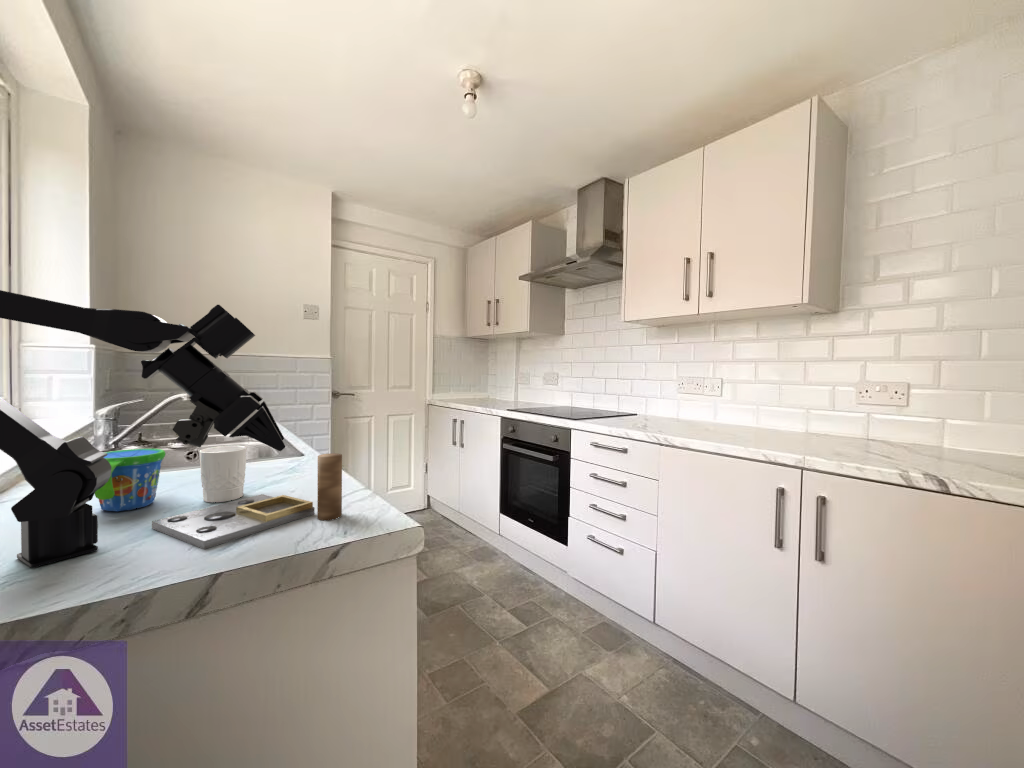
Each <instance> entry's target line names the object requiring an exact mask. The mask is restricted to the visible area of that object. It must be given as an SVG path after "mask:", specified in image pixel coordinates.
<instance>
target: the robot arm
mask: <svg viewBox="0 0 1024 768" xmlns="http://www.w3.org/2000/svg"><path fill="white" fill-rule="evenodd" d="M0 319H2V320H3V319H4V320H8V321H9V320H10V321H13V322H14V321H15V322H21V323H24V324H30V325H36V326H41V327H47V328H52V329H57V330H63V331H66V332H67V331H68V332H72V333H78V334H82V335H84V336H87V337H90V338H94V339H97V340H99V341H102V342H105V343H108V344H110V345H114V346H117V347H121V348H123V349H126V350H130V351H132V352H133V351H134V352H140V353H148V354H152V353H153V354H154V353H159V352H161V351H163V350H164V351H163V352H161V353H160V354H159V355H157V357H154V359H152V360H148V359H147V360H146V359H142V360H140V363H141V364H140V365H141V367H142V371H141V378H142V379H154V377H155V376H156V375H158V374H159V373H160V374H162V375H163V376H164V377H165V378H166V379H168V380H169V381H171V382H172V383H173V384H174V385H176V387H178V388H180V389H181V390H182V391H183V392H185V394H187V395H188V396H189V399H190V400H189V402H190V403H191V404H193V405H194V406H195V408H194V410H193V411H192V413H191V414H190V415H189V418H186V419H179V420H177V421H176V422H175V424H174V427H173V428H172V431H173V432H174V433H175V434H176V435H177V438H176V440H177V442H181V443H182V445H190V446H194V447H196V448H202V446H203V445H204V444H205V443H206V442H207V441H206V440H207V439H208V437H209V432H210V431H211V429H212V427H213V429H214V430H215V431H217V432H218V433H219V434H221V435H222V436H223V437H226V436H228V437H229V438H235V437H249V438H251V439H253V440H255V441H258V442H259V443H262V444H264V445H266V446H268V447H270V448H272V449H275V450H276V451H277V452H282V451H283V450H284V449H285V448H286V444H285V443H284V439H285V437H284V435H283V433H282V431H281V430H280V428H279V426H278V424H277V422H276V420H275V419H274V416H273V414H272V412H271V410H270V408H269V407H268V405H267V402H266V401H265V400H263V397H262V396H261V395H259V394H258V393H257V392H256V391H249V390H248V389H247V388H244V387H243V386H241V385H240V384H239V383H238V382H237V381H236V380H235V379H233V378H232V377H231V375H230V374H228V372H226V371H225V370H223V369H222V368H220V367H219V366H218V365H216V364H215V363H214V362H213V361H212V360H210V359H209V358H208V357H207V356H205V355H204V354H203V353H202V352H201V351H200V350H199V349H198V348H196V347H195V345H198V347H200V348H201V349H202V350H203V351H204V352H206V354H208V355H210V356H211V357H212V358H214V359H218V358H219V357H224V358H226V359H229V358H230V357H231V356H232V355H234V354H235V353H237V352H238V350H240V349H242V347H244V346H245V345H246V344H247V343H248V342H250V341H251V340H252V339H253V338H254V337H256V334H255V333H254V332H253V331H251V329H249V328H248V327H247V326H246V325H245V324H244V323H243V322H242V321H241V320H239V319H238V318H237V317H234V316H233V315H232V314H231V313H230V312H229V311H227V310H226V309H225V308H224V307H223V306H222V305H220V304H216V305H215V306H214V307H212V308H211V309H210V310H208V313H207V314H205V315H204V316H203V317H201V318H200V319H199V320H197V321H196V322H195V323H193V324H192V325H191V326H190V327H189V326H187V325H184V324H182V323H179V324H175V323H174V324H173V323H169V322H167V321H166V320H164V319H163V318H161V317H159V316H156V315H154V314H151V313H149V312H145V311H140V310H130V309H129V310H127V309H116V308H115V309H114V308H94V307H93V308H92V307H82V306H77V305H75V304H74V305H73V304H68V303H64V302H58V301H54V300H48V299H45V298H39V297H34V296H29V295H26V294H19V293H15V292H10V291H6V290H2V289H0ZM181 343H184V344H183V345H181V346H180V347H179V348H177V349H176V350H174V349H173V348H171V347H169V346H170V345H173V344H181ZM166 348H167V349H166ZM260 402H261V403H260ZM232 431H233V432H232ZM231 432H232V433H231ZM0 451H1V452H3V453H4V454H6V455H8V456H9V457H10V458H11V459H13V460H14V461H15V463H16V465H17V467H18V468H19V470H20V473H21V474H22V476H23V478H24V480H25V481H26V482H27V483H28V484H29V485H30V487H32V488H33V490H31V491H30V492H29V493H28V494H26V495H25V496H24V497H23V498H22V499H20V500H19V501H18V502H16V503H15V504H13V505H12V506H11V508H10V510H11V512H12V515H14V517H15V519H16V521H17V522H18V523H20V545H21V549H20V550H21V552H19V553H17V554H16V558H17V559H18V560H20V561H21V562H22V563H24V564H25V565H27V566H28V567H29V568H38V567H41V566H44V565H48V564H52V563H55V562H56V563H57V562H61V561H63V560H66V559H71V558H75V557H78V556H82V555H86V554H89V553H93V552H97V551H98V550H99V546H97V545H96V544H97V543H98V540H99V539H98V537H99V536H98V532H99V531H98V530H99V529H98V525H99V524H98V515H97V514H94V513H93V505H91V504H88V502H90V501H92V500H93V498H94V497H95V492H96V491H97V490H98V489H100V488H101V487H103V486H104V485H105V484H106V483H107V482H108V480H109V478H110V476H111V468H112V467H111V465H110V463H109V462H108V461H107V460H106V459H105V458H103V457H105V456H107V455H108V454H107V453H104V452H103V451H100V450H99V449H97V448H96V447H94V445H92V443H91V442H90V441H89V440H88V439H87V438H85V437H84V436H82V435H81V436H79V437H75V438H72V439H69V440H66V439H63V438H59V437H57V436H54V435H53V434H52V433H50V432H49V431H47V430H46V429H45V428H43V427H42V426H41V425H39V424H38V423H36V422H35V421H34V420H32V419H31V418H30V417H28V416H27V415H26V414H24V413H23V412H22V411H20V410H19V409H18V408H16V407H15V406H13V405H12V404H10V403H9V402H8V401H6V399H4V398H2V397H1V396H0Z"/></svg>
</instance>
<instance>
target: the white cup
mask: <svg viewBox="0 0 1024 768" xmlns="http://www.w3.org/2000/svg"><path fill="white" fill-rule="evenodd" d="M247 448H248V447H247V446H244V445H219V446H213V447H210V446H209V447H206V448H203V449H200V450H199V461H200V463H199V465H200V466H199V467H200V468H199V469H200V481H201V488H202V497H203V498H202V499H203V502H206V503H213V502H214V503H215V502H216V503H227V502H232V501H236V500H239V499H241V498H242V497H243V496H244V487H245V481H246V479H245V478H246V468H247V467H246V466H247V465H246V464H247ZM240 497H241V498H240ZM231 500H232V501H231ZM216 503H215V504H216Z"/></svg>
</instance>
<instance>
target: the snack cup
mask: <svg viewBox="0 0 1024 768" xmlns="http://www.w3.org/2000/svg"><path fill="white" fill-rule="evenodd" d="M104 453H107V454H108V455H107V456H105V457H103V458H105V459H106V460H107V461H108V462H109V463H110V465H111V467H112V468H111V476H110V478H109V480H108V482H107V483H106V484H105V485H104V486H103V487H101V488H100V489H98V490H97V491H96V492H95V494H94V497H95V498H97V500H98V502H99V506H100V508H101V511H106V512H122V511H123V512H124V511H130V510H136V508H137V509H140V508H145V507H147V506H149V505H151V504H152V503H154V501H155V499H156V497H157V490H158V484H159V480H160V474H161V467H162V465H161V464H162V462H163V460H164V458H165V457H166V451H165V450H164V449H162V448H161V449H160V448H134V449H122V450H121V449H120V450H111V451H105V452H104Z"/></svg>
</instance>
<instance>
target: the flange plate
mask: <svg viewBox="0 0 1024 768" xmlns="http://www.w3.org/2000/svg"><path fill="white" fill-rule="evenodd" d="M312 515H315V507H314V502H313V501H309V500H307V499H306V500H305V499H301V498H298V497H294V496H289V495H286V494H282V495H278V496H270V495H267V494H262V493H261V494H257V495H253V496H250V497H249V496H248V497H246V498H245V497H244V498H242V499H241V498H239V499H235V500H232V501H227V502H223V503H220V504H216V505H212V506H209V507H203V508H201V509H195V510H192V511H188V512H184V513H180V514H176V515H171V516H168V517H163V518H160V519H159V518H158V519H155V520H152V521H151V529H153V530H155V531H157V532H160V533H162V534H165V535H168V536H170V537H172V538H174V539H177V540H180V541H182V542H185V543H187V544H190V545H192V546H195V547H197V548H200V549H202V550H206V549H209V548H212V547H216V546H219V545H221V544H224V543H228V542H231V541H235V540H237V539H241V538H243V537H247V536H250V535H253V534H257V533H259V532H262V531H265V530H269V529H271V528H276V527H279V526H282V525H283V524H287V523H290V522H293V521H296V520H299V519H304V518H306V517H309V516H312Z"/></svg>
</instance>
